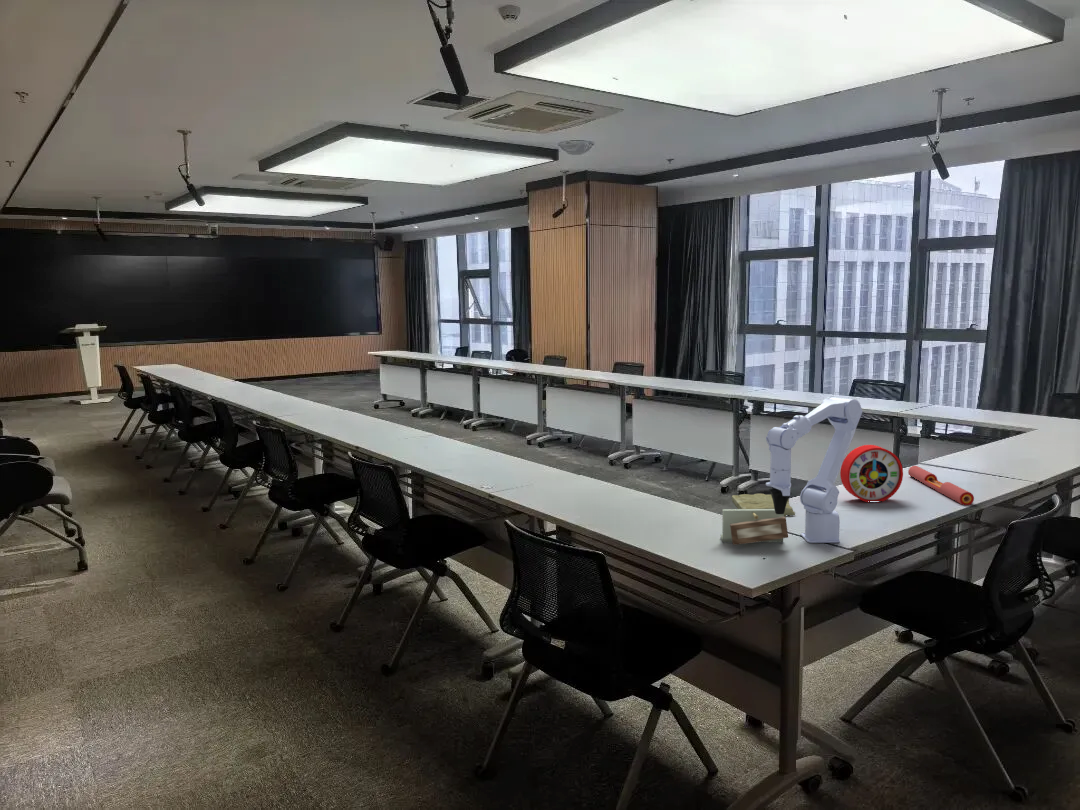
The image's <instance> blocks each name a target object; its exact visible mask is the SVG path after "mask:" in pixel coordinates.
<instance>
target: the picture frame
mask: <svg viewBox="0 0 1080 810" xmlns="http://www.w3.org/2000/svg"><path fill="white" fill-rule="evenodd" d="M730 529H731V536H732V542H731V543H732V545H733V546H737V545H744V544H750V543H752V544H753V543H760V542H759V541H767V540H774V539H782V538H783V539H788V538H789V533H788V524H787V518H786V516H784V517H777V518H769V519H762V520H755V521H748V522H741V523H733V524H730Z"/></svg>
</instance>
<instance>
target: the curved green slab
mask: <svg viewBox="0 0 1080 810" xmlns="http://www.w3.org/2000/svg"><path fill="white" fill-rule="evenodd" d="M777 517H785V516H784V514H776V513H775V509H738V508H737V509H736V508H735V509H733V508H731V509H728V508H727V509H723V508H722V519H721V520H722V522H721V523H722V525H721V526H722V527H721V528H722V531H721V532H722V533H721V534H720V540H721V541H722V542H721V543H732V536H731V529H730V524H733V523H741V522H748V521H755V520H762V519H769V518H777ZM758 543H784V538H782V539H774V540H767V541H759V542H758Z"/></svg>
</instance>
